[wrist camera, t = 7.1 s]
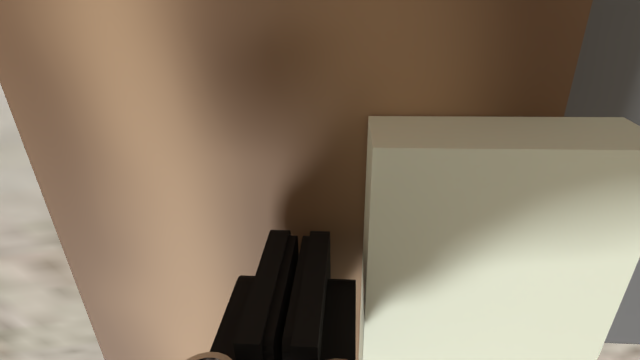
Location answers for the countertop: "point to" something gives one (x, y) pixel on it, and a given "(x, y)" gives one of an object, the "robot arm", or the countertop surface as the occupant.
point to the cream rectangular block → (497, 236)
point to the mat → (612, 108)
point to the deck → (243, 131)
